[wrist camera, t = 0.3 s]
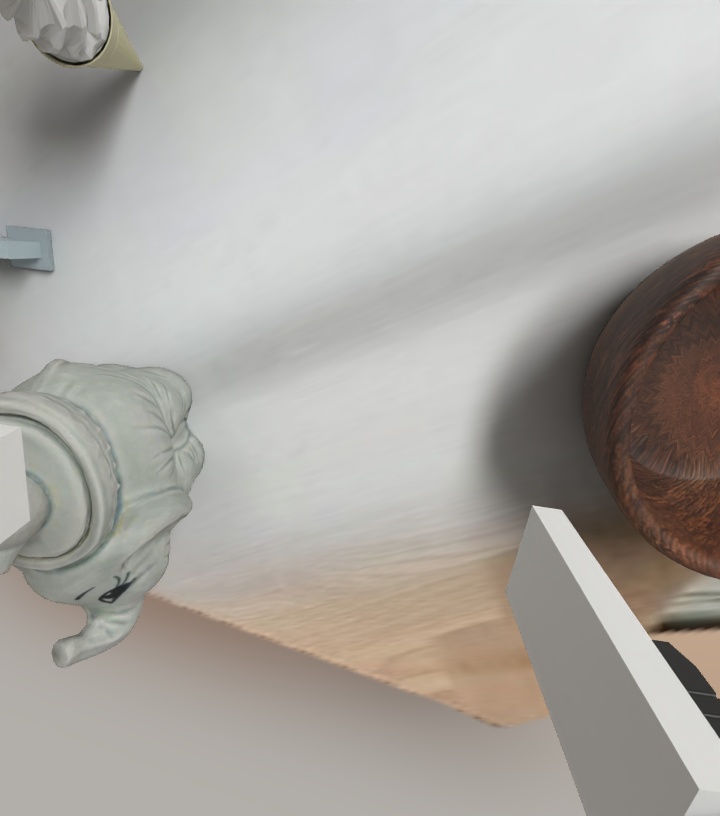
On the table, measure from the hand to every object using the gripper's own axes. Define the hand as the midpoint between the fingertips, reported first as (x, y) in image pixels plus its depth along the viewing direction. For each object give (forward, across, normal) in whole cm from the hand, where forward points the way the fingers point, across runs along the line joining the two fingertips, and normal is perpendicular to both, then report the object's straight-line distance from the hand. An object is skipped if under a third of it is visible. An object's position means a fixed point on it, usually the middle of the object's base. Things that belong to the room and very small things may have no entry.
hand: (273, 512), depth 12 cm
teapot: (+28, -16, -13) cm, 34 cm away
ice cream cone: (+28, -17, +16) cm, 36 cm away
